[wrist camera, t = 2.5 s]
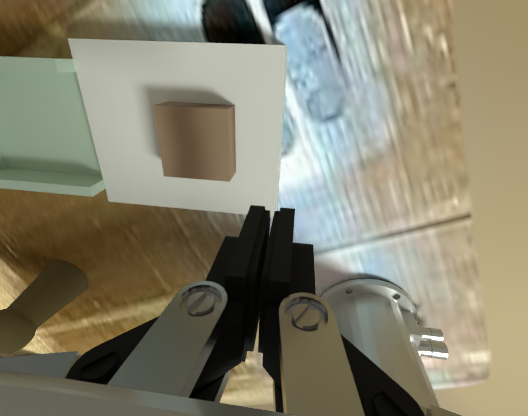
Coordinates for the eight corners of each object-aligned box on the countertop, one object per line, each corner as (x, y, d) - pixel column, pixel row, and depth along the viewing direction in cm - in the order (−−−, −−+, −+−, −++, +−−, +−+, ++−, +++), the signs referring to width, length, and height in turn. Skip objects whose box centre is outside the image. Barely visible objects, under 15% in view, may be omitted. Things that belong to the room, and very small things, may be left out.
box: (96, 59, 26) (54, 58, 22) (122, 178, 32) (92, 196, 27) (-26, 54, 28) (-89, 52, 23) (19, 169, 33) (-25, 185, 29)
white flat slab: (288, 47, 24) (285, 45, 21) (278, 204, 31) (275, 217, 28) (92, 41, 26) (67, 38, 23) (124, 190, 33) (108, 201, 30)
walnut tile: (235, 105, 24) (227, 109, 21) (235, 171, 26) (229, 181, 24) (167, 101, 24) (153, 105, 22) (175, 167, 27) (163, 176, 25)
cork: (81, 263, 39) (8, 329, 29) (91, 295, 42) (27, 365, 32) (42, 258, 40) (-43, 321, 30) (54, 290, 42) (-20, 356, 33)
